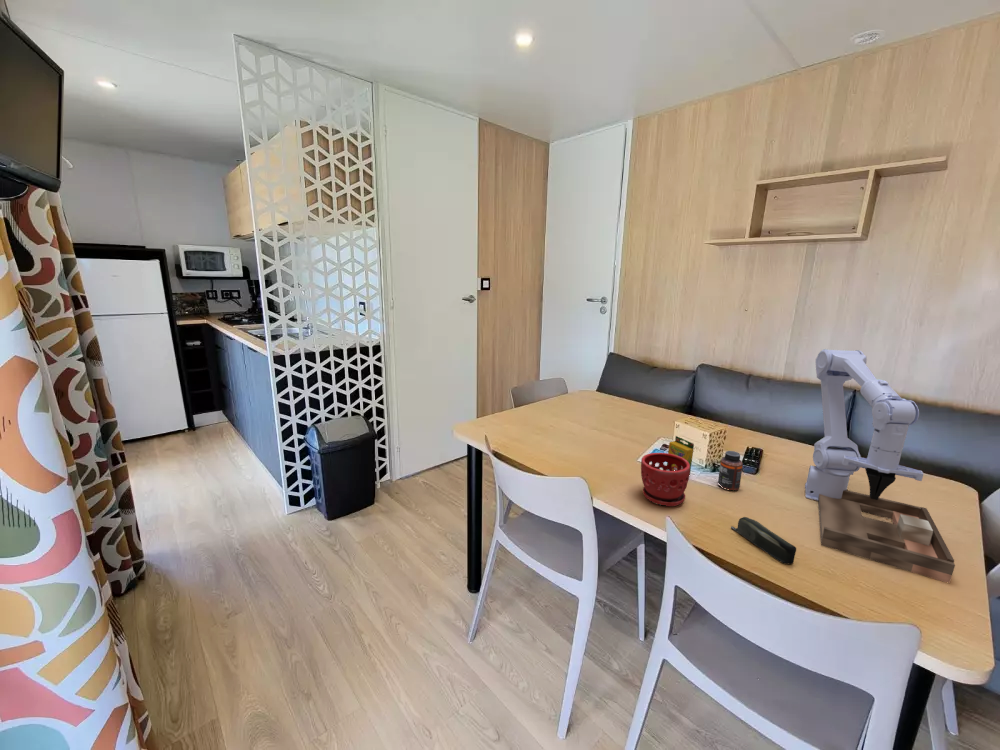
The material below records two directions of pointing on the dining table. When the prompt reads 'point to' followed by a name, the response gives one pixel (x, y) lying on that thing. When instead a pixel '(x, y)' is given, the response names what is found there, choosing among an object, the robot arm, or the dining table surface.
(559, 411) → the dining table surface
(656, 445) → the dining table surface
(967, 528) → the dining table surface
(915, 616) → the dining table surface
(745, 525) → the mobile phone
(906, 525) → the block
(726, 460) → the supplement bottle
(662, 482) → the plant pot
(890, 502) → the frame
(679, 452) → the crayon box
